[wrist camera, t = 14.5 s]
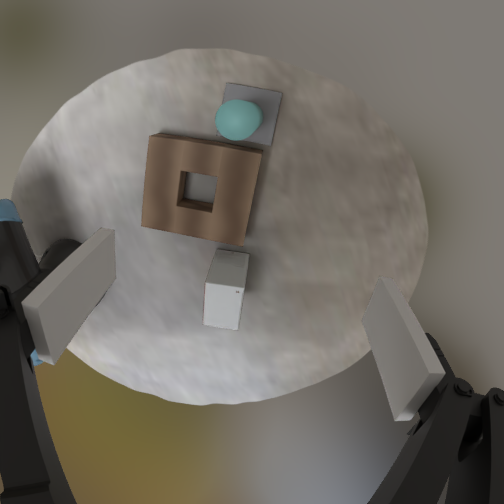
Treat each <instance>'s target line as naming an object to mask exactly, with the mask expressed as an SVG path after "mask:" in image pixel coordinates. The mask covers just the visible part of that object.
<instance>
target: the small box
mask: <svg viewBox="0 0 504 504" xmlns="http://www.w3.org/2000/svg"><path fill="white" fill-rule="evenodd" d="M248 262H249V254H247V253H240V252H233V251H226V250H220V249H217V250H216V252H215V255H214V258H213V261H212V264H211V267H210V270H209V273H208V276H207V278H206V281H205V292H204V309H203V325H207V326H213V327H219V328H225V329H231V330H239V325H240V318H241V310H242V304H243V297H244V291H245V284H246V277H247V270H248Z"/></svg>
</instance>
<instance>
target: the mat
mask: <svg viewBox="0 0 504 504" xmlns="http://www.w3.org/2000/svg"><path fill="white" fill-rule="evenodd" d="M281 96H282V93H280V92H275V91H270V90H265V89H260V88H254V87H249V86H243V85H237V84H230V83H226V88H225V93H224V98H223V103H222V105H223V104H224V103H226V102H227V101H230V100H236V99H238V100H244V101H248V102H253V103H255V104H257V105H258V106H259V107H260V108H261V110H262V112H263V122H262V124H261V125H260V126H259V127H258V128H257V129H256V130H255V131H254V132H253V133H252V134H251V135H250V136H249V137H247V138H245V139H243V140H244V141H249V142H255V143H260V144H264V145H269V146H271V143H272V138H273V133H274V129H275V124H276V120H277V115H278V110H279V106H280V101H281ZM216 136H222V137H224V136H223V135H221V134H220V132H219V131H218V130H217V135H216Z"/></svg>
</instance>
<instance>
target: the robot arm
mask: <svg viewBox="0 0 504 504" xmlns="http://www.w3.org/2000/svg"><path fill="white" fill-rule="evenodd" d="M22 223H23V222H22V220H21V219H20V217H19V215H18V212H17V210H16V207H15V205H14V203H13V202H12V201H11V200H9V199H1V200H0V473H1V477H2V481H3V486H4V491H3V492H2V493H1V494H0V501H1V504H77V503H76V501H75V499H74V496H73V494H72V492H71V489H70V487H69V484H68V482H67V480H66V477H65V474H64V472H63V469H62V467H61V464H60V461H59V458H58V455H57V453H56V450H55V447H54V444H53V441H52V437H51V434H50V431H49V428H48V424H47V421H46V417H45V413H44V410H43V406H42V402H41V398H40V394H39V390H38V385H37V380H36V375H35V371H34V366H37V365H39V364H41V363H42V362H43V361H44V362H47V363H50V364H52V365H55V363H56V362H57V360H58V359H59V357H60V356H61V354H62V353H63V351H64V350H65V348H66V347H67V345H68V344H69V342H70V341H71V340H72V338H73V337H74V335H75V334H76V332H77V331H78V329H79V328H80V327H81V325H82V324H83V322H84V321H85V320H86V318H87V317H88V315H89V314H90V313H91V311H92V310H93V308H94V307H95V306H97V305H98V303H99V302H100V301H101V299H102V298H103V297H104V295H105V292H106V291H107V290H108V288H109V287H110V286H111V284H112V283H113V282H114V280H115V279H116V268H115V236H114V230H111V229H105V228H100V229H99V230H98V231H97V232H96V233H94V234H93V235H92V236H91V237H90V238H89V239H87V240H86V241H85V242H84V243H83V244H81V243H79V242H77V241H74V240H69V239H63V240H59V241H57V242H55V243H54V244H53V245H51V246H50V247H49V248H48V249H47V250H46V251H45V253H44V254H43V256H42V259H41V261H40V262H39V264H38V262H37V260H36V258H35V255H34V253H33V250H32V248H31V246H30V243H29V241H28V238H27V236H26V233H25V230H24V228H23V225H22ZM362 323H363V326H364V328H365V331H366V334H367V337H368V340H369V343H370V345H371V348H372V351H373V354H374V357H375V360H376V362H377V366H378V369H379V372H380V375H381V378H382V381H383V385H384V388H385V391H386V394H387V397H388V400H389V404H390V407H391V410H392V414H393V417H394V421H406V420H411V419H412V418H413V416H414V415H415V414H416V413H417V411H418V412H419V415H420V419H419V421H418V422H417V423H416V424H415V425H414V426H413V428H412V429H411V430H410V431H409V432H408V433H407V434H408V435H410V436H409V438H408V440H407V442H406V443H405V445H404V447H403V449H402V450H401V452H400V454H399V456H398V457H397V459H396V461H395V463H394V464H393V466H392V467H391V469H390V470H389V472H388V474H387V475H386V477H385V478H384V480H383V481H382V483H381V484H380V486H379V488H378V489H377V490H376V492H375V494H374V495H373V496H372V498H371V499H370V501H369V502H368V503H367V504H437V502H438V500H439V498H440V495H441V493H442V491H443V489H444V486H445V484H446V482H447V479H448V477H449V482H448V489H447V495H446V500H445V504H504V391H503V390H501V389H499V388H491V389H490V391H489V392H488V393H487V394H486V395H485V396H484V395H480V394H477V393H474V390H473V388H472V387H471V385H470V384H469V383H468V382H466V381H465V380H463V379H461V378H456V377H455V375H454V373H453V371H452V369H451V367H450V365H449V364H448V362H447V360H446V358H445V357H444V354H443V353H442V351H441V350H440V347H439V345H438V343H437V342H436V340H435V339H434V338H433V337H432V336H431V335H430V334H429V333H424V331H423V329H422V327H421V326H420V324H419V322H418V320H417V318H416V317H415V315H414V313H413V311H412V310H411V308H410V306H409V305H408V303H407V301H406V299H405V298H404V296H403V294H402V293H401V291H400V289H399V288H398V286H397V284H396V283H395V281H394V280H393V278H388V277H382V276H379V279H378V282H377V284H376V287H375V289H374V292H373V294H372V297H371V299H370V301H369V304H368V306H367V309H366V311H365V313H364V316H363V318H362ZM449 474H450V475H449Z"/></svg>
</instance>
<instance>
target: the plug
mask: <svg viewBox="0 0 504 504" xmlns="http://www.w3.org/2000/svg"><path fill="white" fill-rule="evenodd" d="M262 122H263V112H262V110H261V108H260V107H259V106H258V105H257V104H255V103H253V102H248V101H244V100H238V99H236V100H230V101H227V102H226V103H224V104H223V105H222V106H221V107H220V108H219V109H218V111H217V113H216V117H215V123H216V127H217V129H218V131H219V132H220V134H221V135H223V136H224V137H225V138H227V139H230V140H243V139H245V138H247V137H249V136H250V135H251V134H252V133H253V132H254V131H255V130H256V129H257V128H258V127H259V126H260V125H261V124H262Z"/></svg>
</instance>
